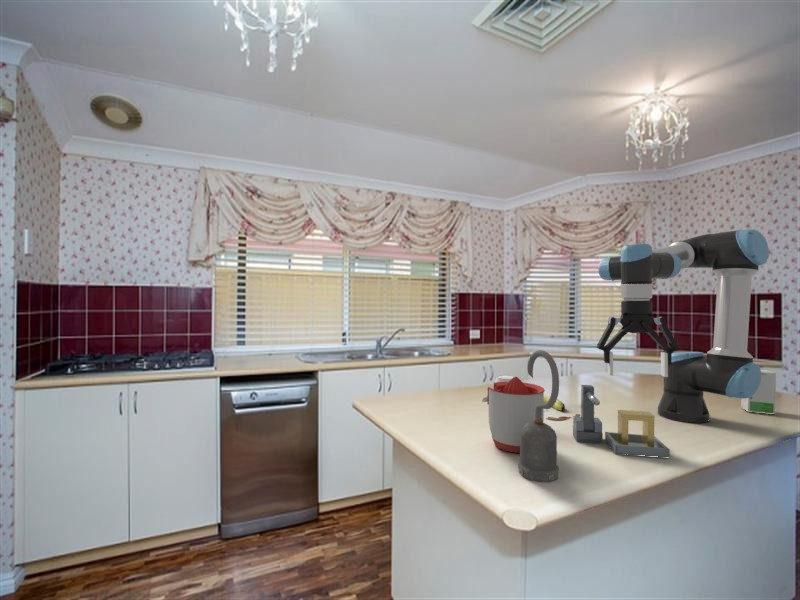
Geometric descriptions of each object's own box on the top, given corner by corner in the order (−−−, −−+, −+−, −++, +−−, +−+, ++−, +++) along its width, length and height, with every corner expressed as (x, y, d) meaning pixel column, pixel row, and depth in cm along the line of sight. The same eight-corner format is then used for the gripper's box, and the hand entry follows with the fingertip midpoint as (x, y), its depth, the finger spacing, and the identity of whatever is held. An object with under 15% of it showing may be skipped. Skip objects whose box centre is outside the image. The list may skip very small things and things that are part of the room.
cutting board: (609, 415, 147) (609, 404, 147) (553, 424, 135) (554, 413, 135) (539, 393, 179) (539, 385, 178) (489, 400, 167) (489, 391, 167)
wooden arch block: (648, 445, 113) (649, 411, 113) (654, 450, 110) (654, 415, 109) (617, 443, 115) (618, 409, 115) (621, 448, 111) (622, 413, 111)
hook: (538, 489, 89) (539, 354, 88) (508, 467, 100) (509, 347, 100) (575, 483, 92) (576, 352, 91) (542, 462, 103) (543, 346, 103)
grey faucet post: (597, 436, 122) (597, 384, 122) (610, 455, 108) (610, 396, 108) (572, 434, 124) (573, 383, 124) (582, 452, 110) (582, 394, 110)
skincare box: (747, 413, 148) (747, 370, 148) (740, 408, 154) (740, 367, 154) (776, 415, 145) (777, 372, 145) (767, 410, 151) (768, 369, 151)
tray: (654, 444, 116) (654, 435, 116) (669, 459, 106) (669, 449, 106) (605, 440, 119) (605, 431, 119) (615, 454, 109) (615, 445, 109)
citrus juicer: (491, 432, 126) (491, 369, 126) (549, 442, 117) (549, 374, 117) (473, 448, 112) (474, 377, 112) (538, 461, 104) (538, 384, 103)
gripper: (681, 298, 113) (681, 374, 113) (585, 300, 119) (586, 371, 119) (693, 299, 105) (694, 379, 106) (591, 300, 111) (591, 376, 112)
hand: (636, 375), depth 112 cm, fingers open, 13 cm apart
